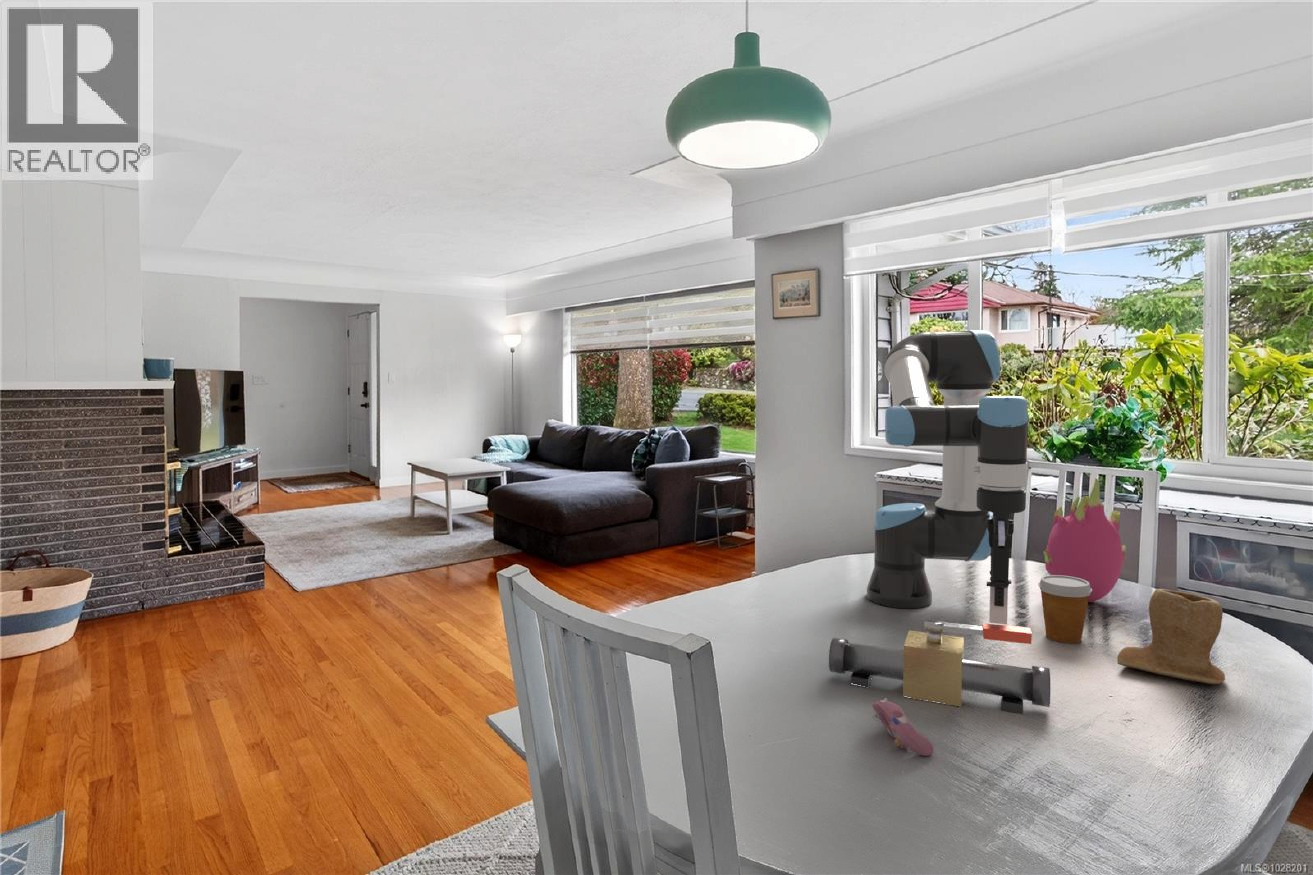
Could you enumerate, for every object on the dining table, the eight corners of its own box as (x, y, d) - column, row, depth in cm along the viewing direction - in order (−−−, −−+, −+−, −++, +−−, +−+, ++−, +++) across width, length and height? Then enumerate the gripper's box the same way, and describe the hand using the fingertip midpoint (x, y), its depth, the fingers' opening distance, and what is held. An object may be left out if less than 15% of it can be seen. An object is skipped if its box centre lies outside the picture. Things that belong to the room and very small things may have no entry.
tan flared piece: (1226, 672, 126) (1229, 591, 125) (1223, 695, 117) (1226, 607, 116) (1126, 652, 136) (1128, 577, 135) (1115, 672, 127) (1118, 591, 126)
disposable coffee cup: (1098, 647, 139) (1100, 588, 138) (1046, 645, 140) (1047, 586, 140) (1079, 631, 148) (1081, 575, 147) (1030, 628, 150) (1032, 573, 149)
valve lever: (924, 633, 118) (924, 622, 118) (924, 627, 121) (924, 616, 121) (1031, 644, 112) (1031, 633, 112) (1029, 638, 115) (1029, 627, 115)
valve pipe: (836, 668, 131) (837, 611, 130) (1046, 701, 116) (1048, 637, 115) (827, 684, 124) (827, 625, 123) (1050, 722, 109) (1051, 654, 108)
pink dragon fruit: (1109, 594, 173) (1113, 473, 170) (1137, 611, 159) (1141, 481, 157) (1032, 591, 176) (1034, 473, 174) (1052, 608, 162) (1056, 480, 160)
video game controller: (881, 735, 109) (862, 698, 108) (906, 721, 109) (887, 683, 108) (911, 770, 99) (890, 729, 98) (938, 754, 99) (918, 713, 98)
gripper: (976, 480, 126) (974, 608, 128) (977, 492, 114) (974, 632, 116) (1023, 482, 123) (1020, 612, 125) (1029, 494, 111) (1025, 638, 113)
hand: (998, 622), depth 121 cm, fingers closed
